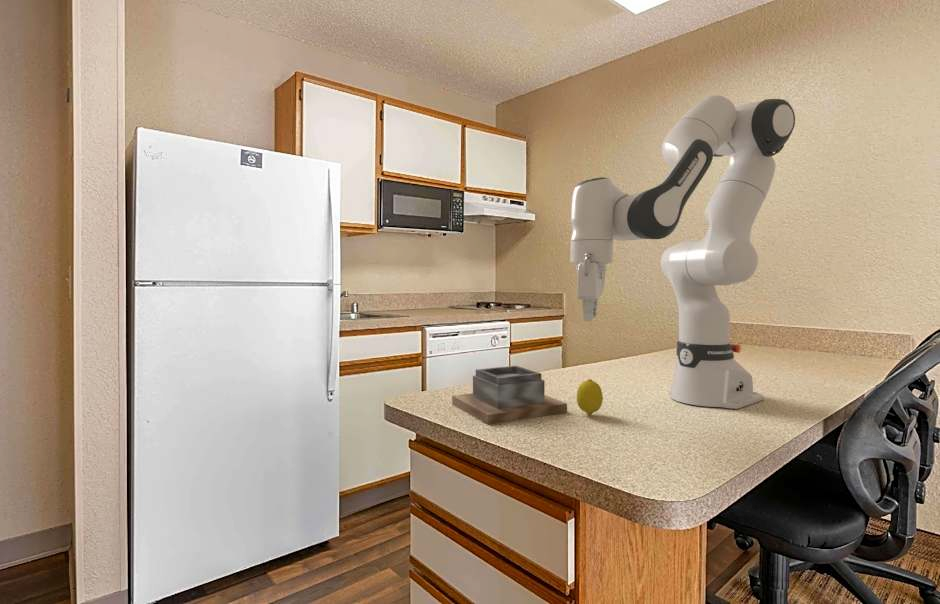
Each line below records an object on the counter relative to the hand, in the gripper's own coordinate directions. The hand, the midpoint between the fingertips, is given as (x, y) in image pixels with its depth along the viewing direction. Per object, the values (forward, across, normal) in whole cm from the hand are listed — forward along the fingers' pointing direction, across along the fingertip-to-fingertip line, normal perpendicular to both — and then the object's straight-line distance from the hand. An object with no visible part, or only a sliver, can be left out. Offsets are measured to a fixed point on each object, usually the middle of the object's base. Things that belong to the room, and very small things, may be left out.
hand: (590, 319), depth 107 cm
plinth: (+21, 0, +18) cm, 28 cm away
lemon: (+21, 0, 0) cm, 21 cm away
